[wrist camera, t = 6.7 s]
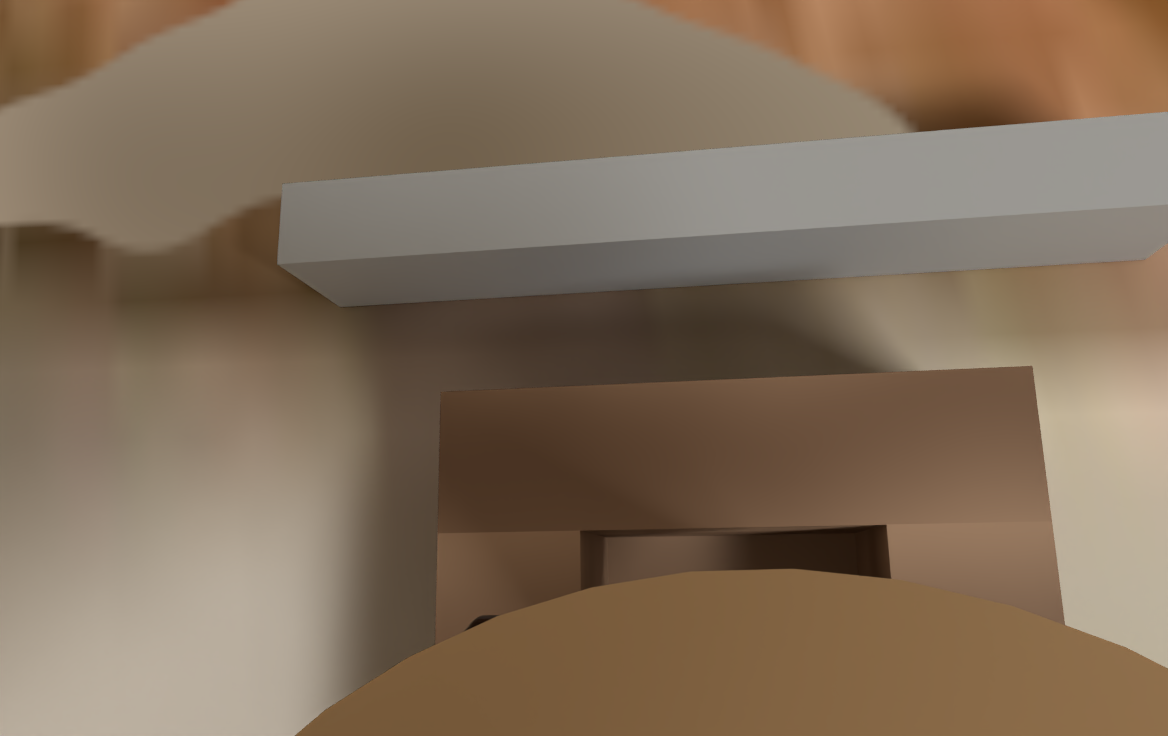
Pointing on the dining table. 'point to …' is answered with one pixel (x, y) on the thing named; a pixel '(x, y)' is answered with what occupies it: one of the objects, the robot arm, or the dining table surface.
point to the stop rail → (738, 214)
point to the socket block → (745, 486)
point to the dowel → (762, 667)
